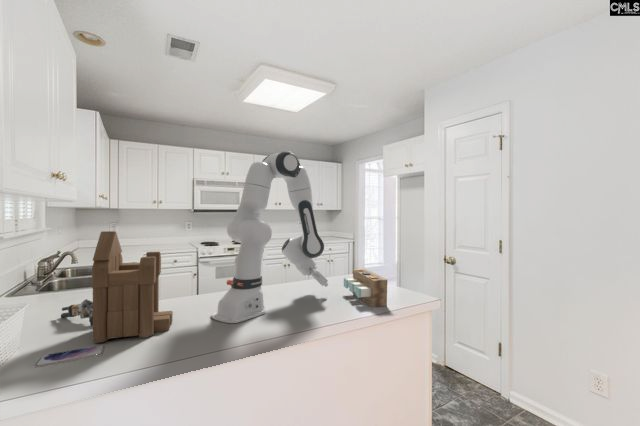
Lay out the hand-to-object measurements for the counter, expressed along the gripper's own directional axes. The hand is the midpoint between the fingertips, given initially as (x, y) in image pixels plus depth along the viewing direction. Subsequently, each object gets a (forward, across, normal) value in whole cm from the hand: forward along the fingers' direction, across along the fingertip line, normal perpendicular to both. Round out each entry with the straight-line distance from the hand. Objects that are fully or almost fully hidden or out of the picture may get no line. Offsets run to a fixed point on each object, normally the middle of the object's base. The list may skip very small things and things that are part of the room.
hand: (326, 285), depth 151 cm
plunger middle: (+11, -8, -9) cm, 16 cm away
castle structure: (-51, -19, +59) cm, 80 cm away
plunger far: (+11, 0, -9) cm, 14 cm away
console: (+17, -8, -10) cm, 22 cm away
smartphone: (-59, -40, +67) cm, 98 cm away
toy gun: (-66, -11, +74) cm, 100 cm away
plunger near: (+11, -16, -9) cm, 22 cm away
